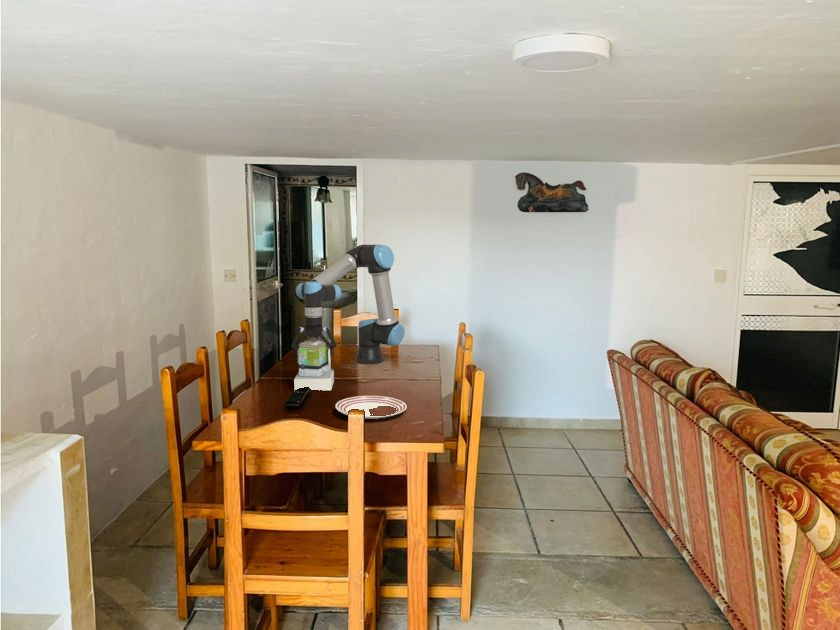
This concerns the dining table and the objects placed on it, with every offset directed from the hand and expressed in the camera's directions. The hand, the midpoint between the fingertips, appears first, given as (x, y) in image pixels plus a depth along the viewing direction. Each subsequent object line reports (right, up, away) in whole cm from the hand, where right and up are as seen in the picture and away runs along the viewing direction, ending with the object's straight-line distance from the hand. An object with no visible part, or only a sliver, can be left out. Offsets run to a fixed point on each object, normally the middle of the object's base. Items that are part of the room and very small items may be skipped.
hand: (314, 362), depth 259 cm
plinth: (0, -11, +1) cm, 11 cm away
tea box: (0, -5, +1) cm, 5 cm away
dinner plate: (+29, -16, -37) cm, 50 cm away
